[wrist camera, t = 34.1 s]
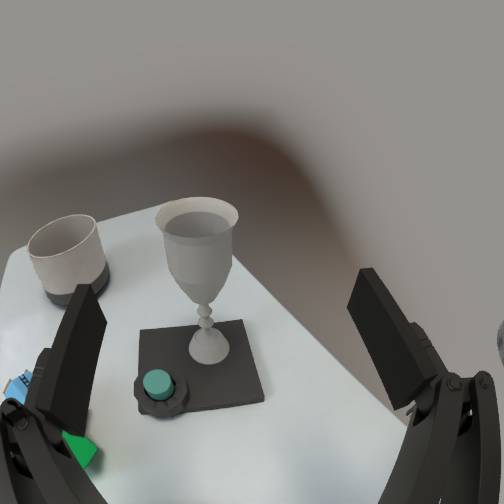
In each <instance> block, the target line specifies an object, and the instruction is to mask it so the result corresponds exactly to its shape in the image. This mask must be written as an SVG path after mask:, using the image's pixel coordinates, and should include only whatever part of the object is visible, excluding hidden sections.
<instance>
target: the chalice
mask: <svg viewBox="0 0 504 504" xmlns="http://www.w3.org/2000/svg"><path fill="white" fill-rule="evenodd" d="M237 219H238V212H237V210H236V209H235V208H234V207H233V206H232V205H230V204H229V203H227V202H225V201H222V200H219V199H215V198H208V197H192V198H184V199H180V200H177V201H173V202H171V203H169V204H167V205H165V206H163V207H162V208H161V209H160V210H159V211H158V212H157V215H156V217H155V220H156V225H157V226H158V227H159V229H160V230H161V231H162V233H163V236H164V243H165V249H166V255H167V261H168V267H169V270H170V272H171V274H172V276H173V277H174V279H175V281H176V282H177V284H178V285H179V286H180V288H181V289H182V290H183V291H184V292H185V293H186V295H187V296H188V297H189V298H190V299H191V300H192V301H193V302H195V303H197V304H199V308H198V309H197V313H198V314H199V315H200V316H201V318H200V319H199V320H198V324H199V326H200V327H202V328H201V329H199V330H198V331H197V332H196V333H195V334H194V336H193V338H192V340H191V342H190V344H189V352H190V355H191V356H192V357H193V359H194V360H196V361H197V362H199V363H203V364H215V363H219V362H220V361H222V360H224V358H225V357H226V356H227V355H228V352H229V343H228V341H227V340H226V338H225V337H224V336H223V335H222V333H221V332H220V331H219V330H217V329H215V328H211V327H212V326H213V324H214V321H213V319H212V318H210V317H209V316H210V314H211V313H212V309H211V308H210V307H209V305H208V304H209V303H211V302H212V301H213V300H215V298H216V297H217V295H218V294H219V292H220V290H221V289H222V287H223V286H224V284H225V281H226V279H227V277H228V274H229V272H230V269H231V267H232V228H233V227H234V225H235V223H236V221H237Z"/></svg>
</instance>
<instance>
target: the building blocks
mask: <svg viewBox="0 0 504 504" xmlns="http://www.w3.org/2000/svg"><path fill="white" fill-rule="evenodd" d="M26 371H27V369H26ZM26 371H25V372H24V374H22V375H21V376H19V377H17V378H16V379H14V380H11V379H9V382H8V383H7V385H6V388H7V387H8V388H7V389H6V388H5V389H6V390H5V389H4V390H5V391H4V392H3V393H4V396H5V398H6V399H7V398H10V397H12V398H15V399H17V400H18V401H19V402H20V403H22V404H23V405H24V402H25V398H26V395H27V391H28V388H29V384H30V381H31V377H32V376H33V375H32V373H31V372H30V371H27V372H26ZM10 381H11V382H10ZM62 435H63V437H64V438H65V439H66V441H67V443H68V445H69V447H70V448H71V450H72V452H73V453H74V455H75V457H76V458H77V460H78V462H79V463H80V465H81V467H82V468H83V470H84V469H85V468H86V466H87V465H88V463H89V462H90V460H91V459H92V457H93V456H94V454H95V453H96V451H97V450H98V448H97V447H96V446H95V445H94V444H93V443H92V442H91V441H90V440H88V439H87V438H86V437H85V436H84V438H82V437H78V436H73V435H69V434H68V433H66V432H65V431H64V430H63V434H62Z"/></svg>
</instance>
